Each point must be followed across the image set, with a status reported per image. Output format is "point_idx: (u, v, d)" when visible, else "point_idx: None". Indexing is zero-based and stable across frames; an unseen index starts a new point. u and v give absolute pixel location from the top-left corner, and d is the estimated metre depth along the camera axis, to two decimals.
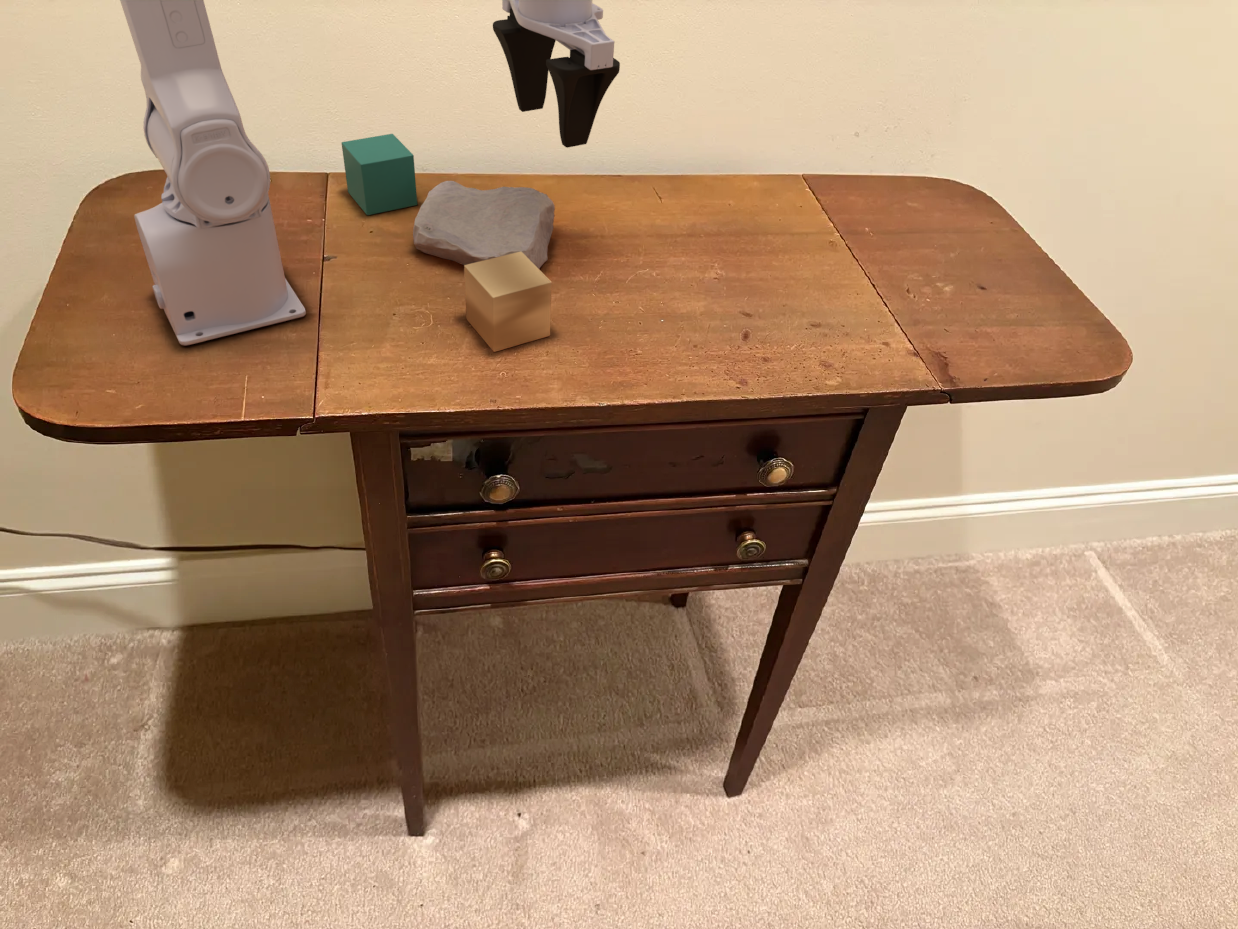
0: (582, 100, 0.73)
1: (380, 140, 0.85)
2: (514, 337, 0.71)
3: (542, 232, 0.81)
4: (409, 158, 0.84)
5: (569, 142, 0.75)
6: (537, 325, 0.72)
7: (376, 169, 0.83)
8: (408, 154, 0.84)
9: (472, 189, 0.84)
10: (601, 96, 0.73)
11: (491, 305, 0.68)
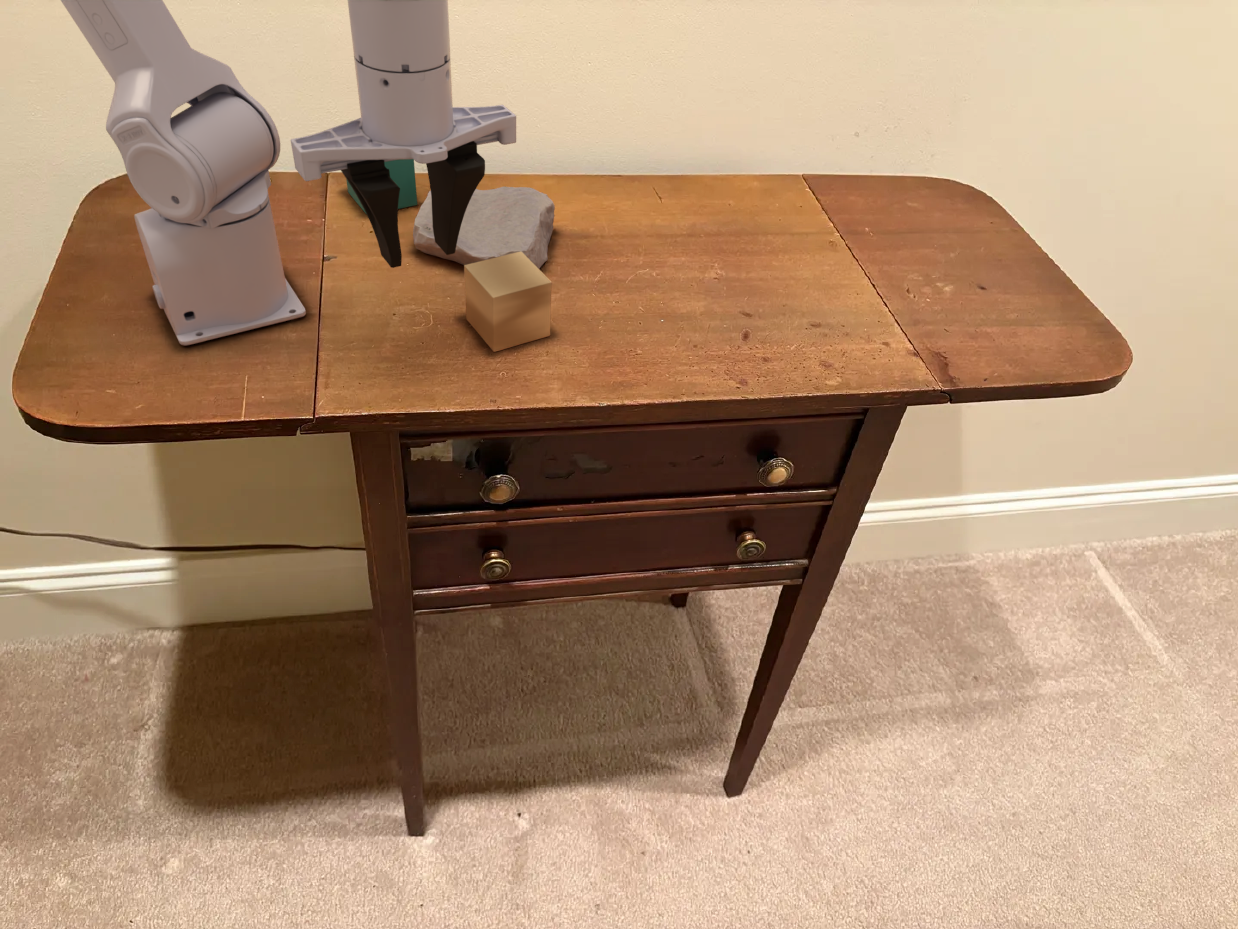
0: None
1: None
2: (514, 337, 0.71)
3: (542, 232, 0.81)
4: None
5: (381, 250, 0.64)
6: (537, 325, 0.72)
7: None
8: None
9: None
10: (375, 218, 0.60)
11: (491, 305, 0.68)
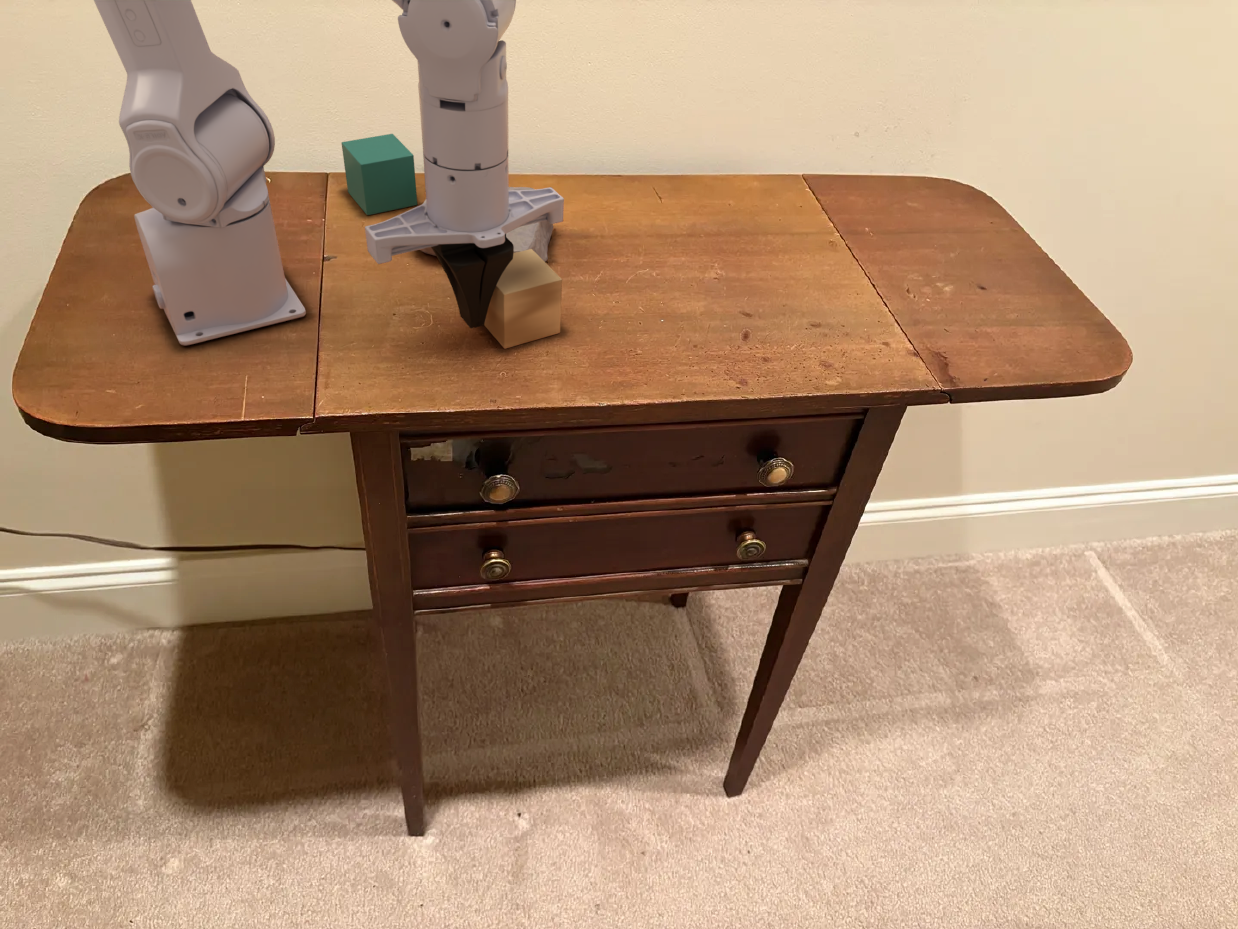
0: None
1: (380, 140, 0.85)
2: (524, 334, 0.72)
3: (542, 232, 0.81)
4: (409, 158, 0.84)
5: (460, 312, 0.71)
6: (548, 322, 0.72)
7: (376, 169, 0.83)
8: (408, 154, 0.84)
9: None
10: (460, 287, 0.67)
11: (502, 302, 0.69)
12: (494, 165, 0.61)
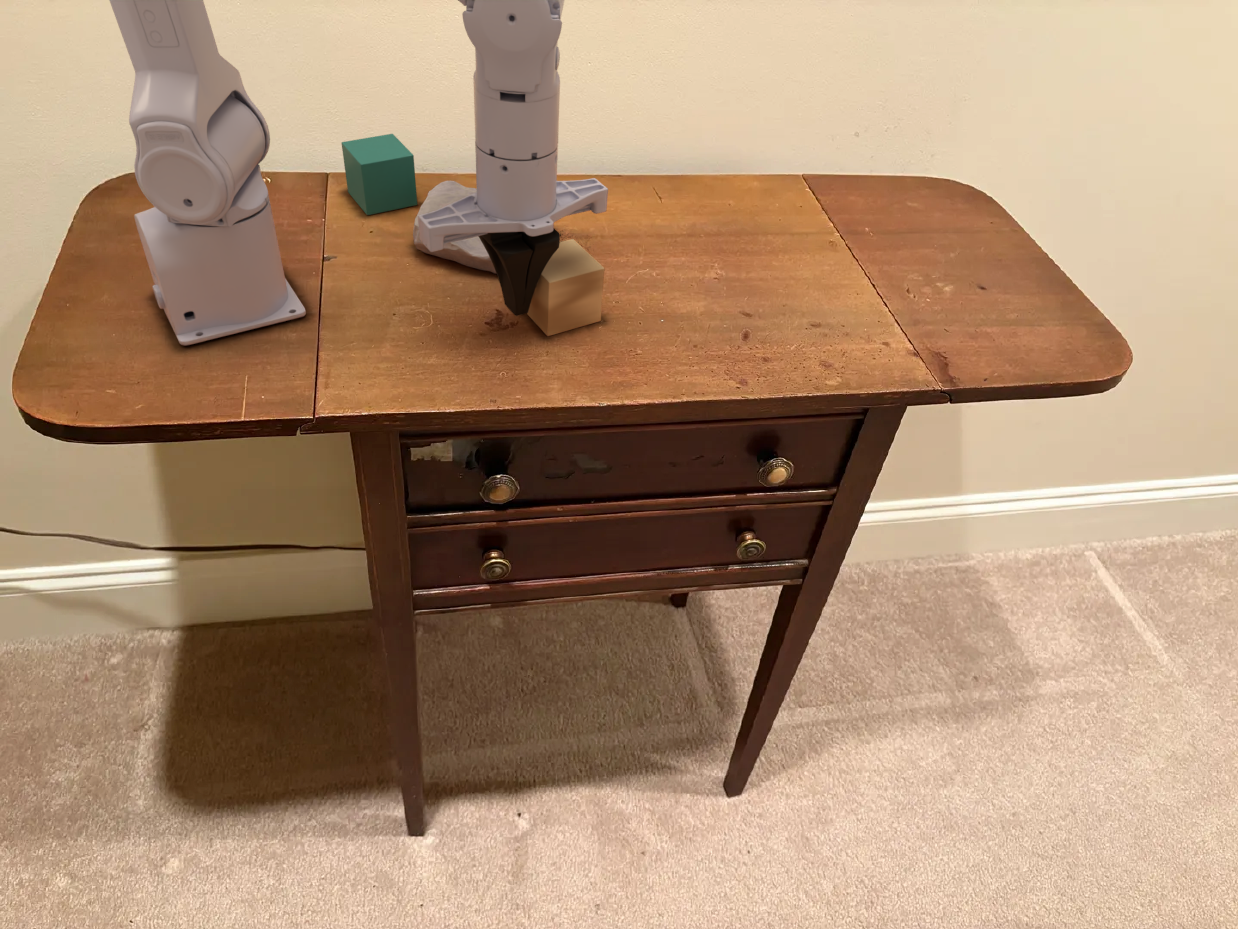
0: None
1: (380, 140, 0.85)
2: (567, 322, 0.73)
3: None
4: (409, 158, 0.84)
5: (505, 300, 0.73)
6: (589, 310, 0.74)
7: (376, 169, 0.83)
8: (408, 154, 0.84)
9: (472, 189, 0.84)
10: (507, 275, 0.69)
11: (547, 290, 0.71)
12: (545, 155, 0.62)
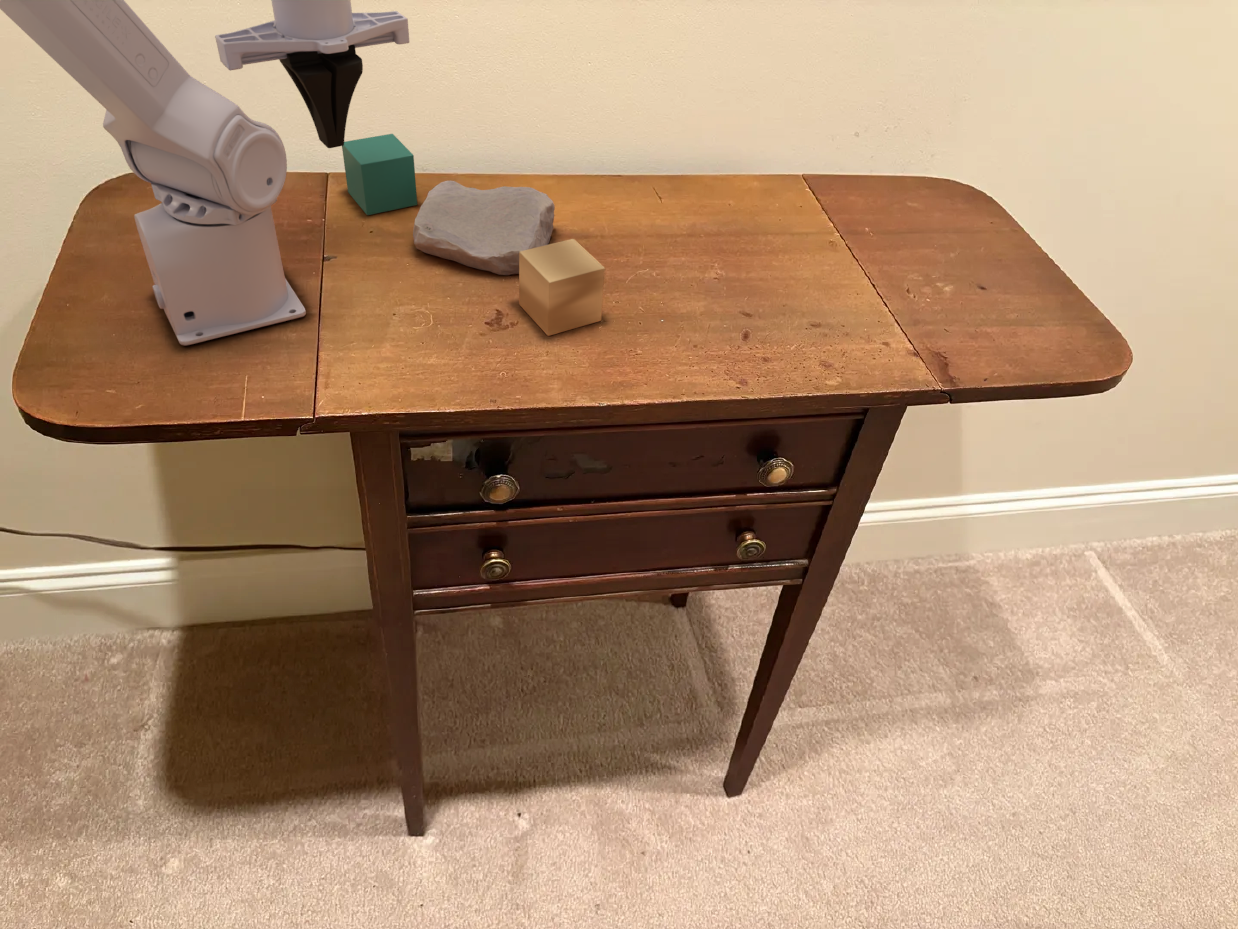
0: None
1: (380, 140, 0.85)
2: (567, 321, 0.73)
3: (542, 232, 0.81)
4: (409, 158, 0.84)
5: (318, 135, 0.76)
6: (590, 310, 0.74)
7: (376, 169, 0.83)
8: (408, 154, 0.84)
9: (472, 189, 0.84)
10: (312, 102, 0.72)
11: (547, 290, 0.71)
12: None
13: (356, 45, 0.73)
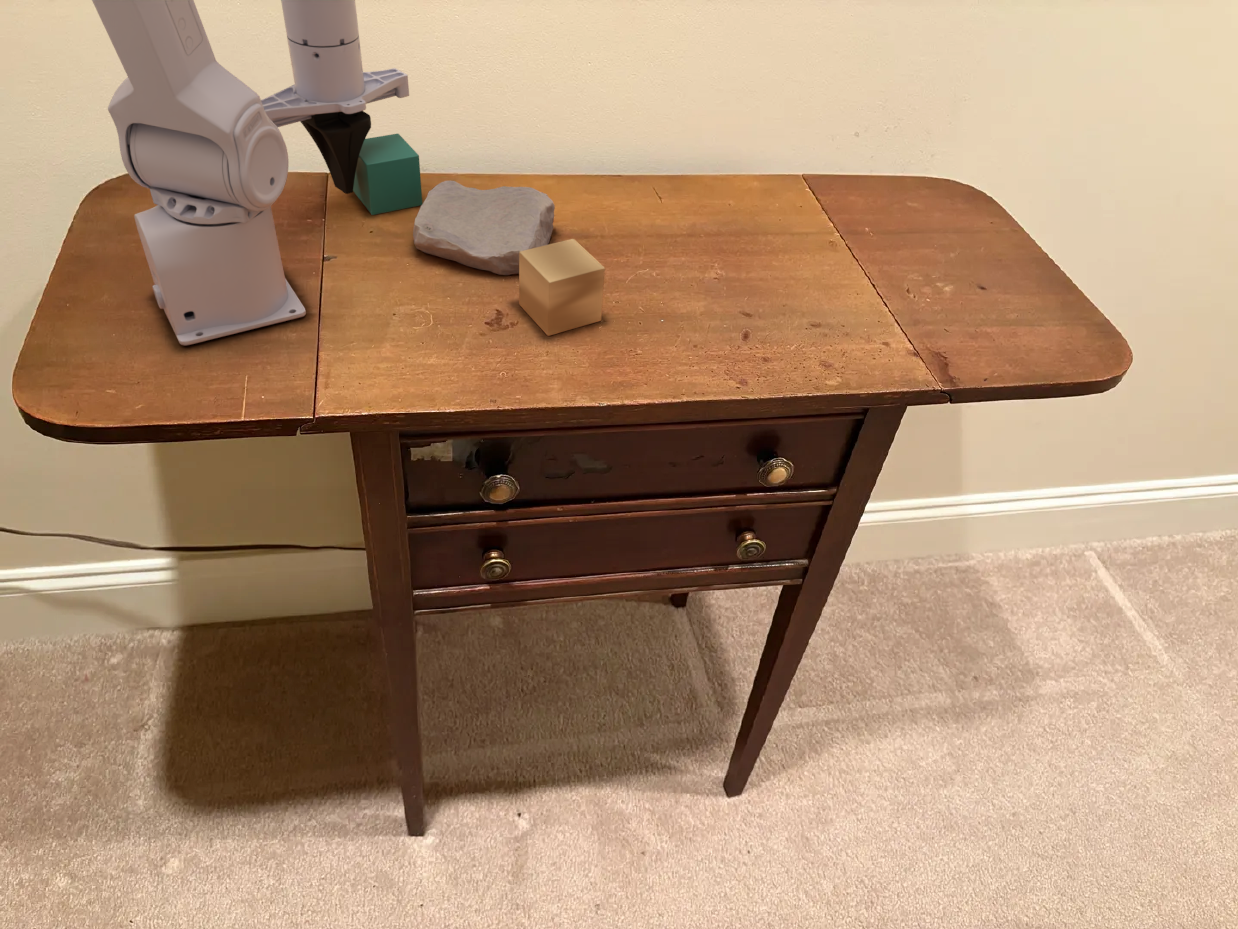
0: None
1: (386, 140, 0.85)
2: (567, 321, 0.73)
3: (542, 232, 0.81)
4: (414, 158, 0.84)
5: (334, 182, 0.85)
6: (590, 310, 0.74)
7: (381, 169, 0.83)
8: (413, 154, 0.84)
9: (472, 189, 0.84)
10: (334, 155, 0.81)
11: (547, 290, 0.71)
12: (349, 41, 0.75)
13: None
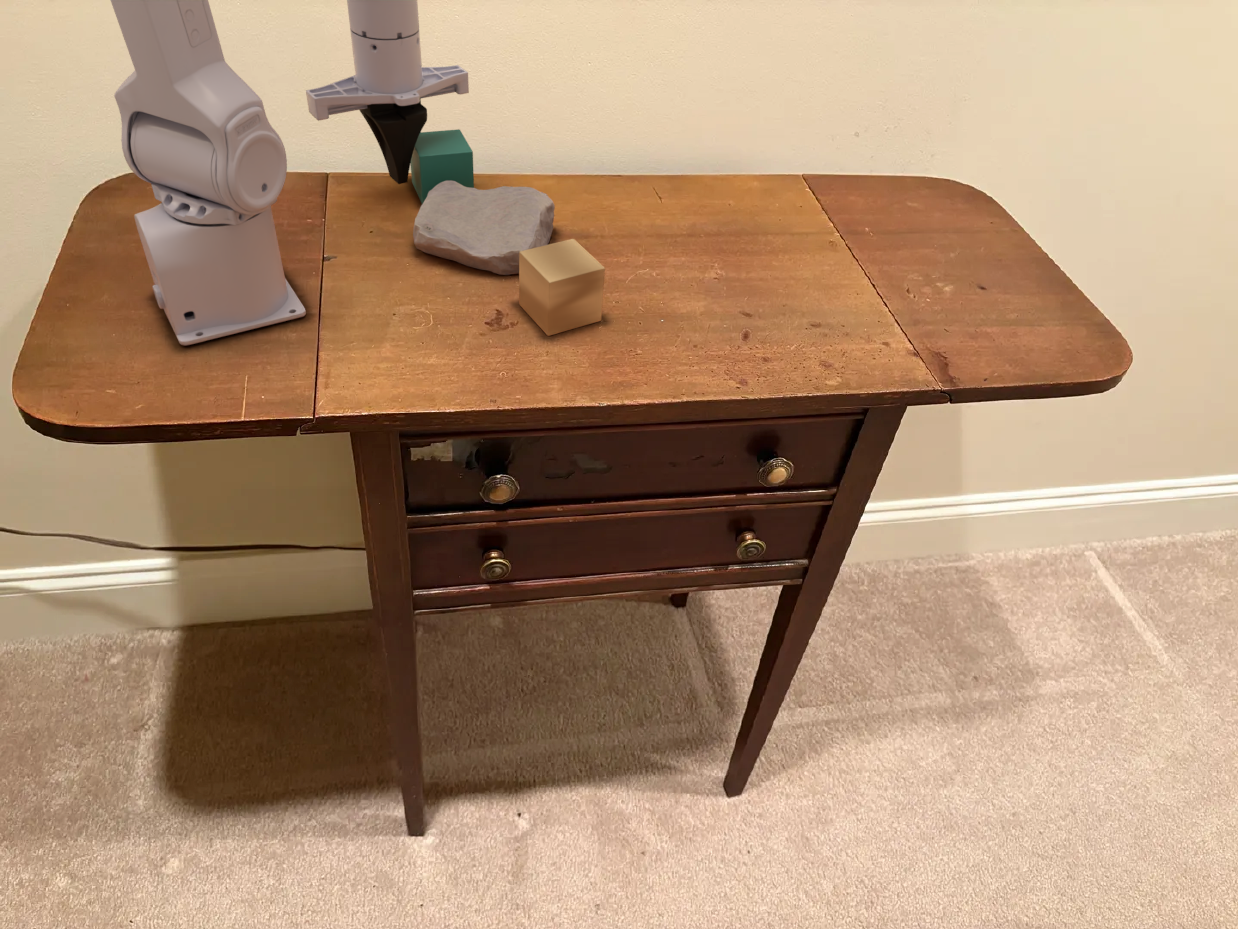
0: None
1: (445, 135, 0.87)
2: (567, 321, 0.73)
3: (542, 231, 0.81)
4: (468, 154, 0.85)
5: (389, 172, 0.87)
6: (590, 310, 0.74)
7: (434, 162, 0.85)
8: (468, 150, 0.85)
9: (472, 189, 0.84)
10: (387, 145, 0.83)
11: (547, 290, 0.71)
12: (407, 36, 0.77)
13: (423, 96, 0.83)
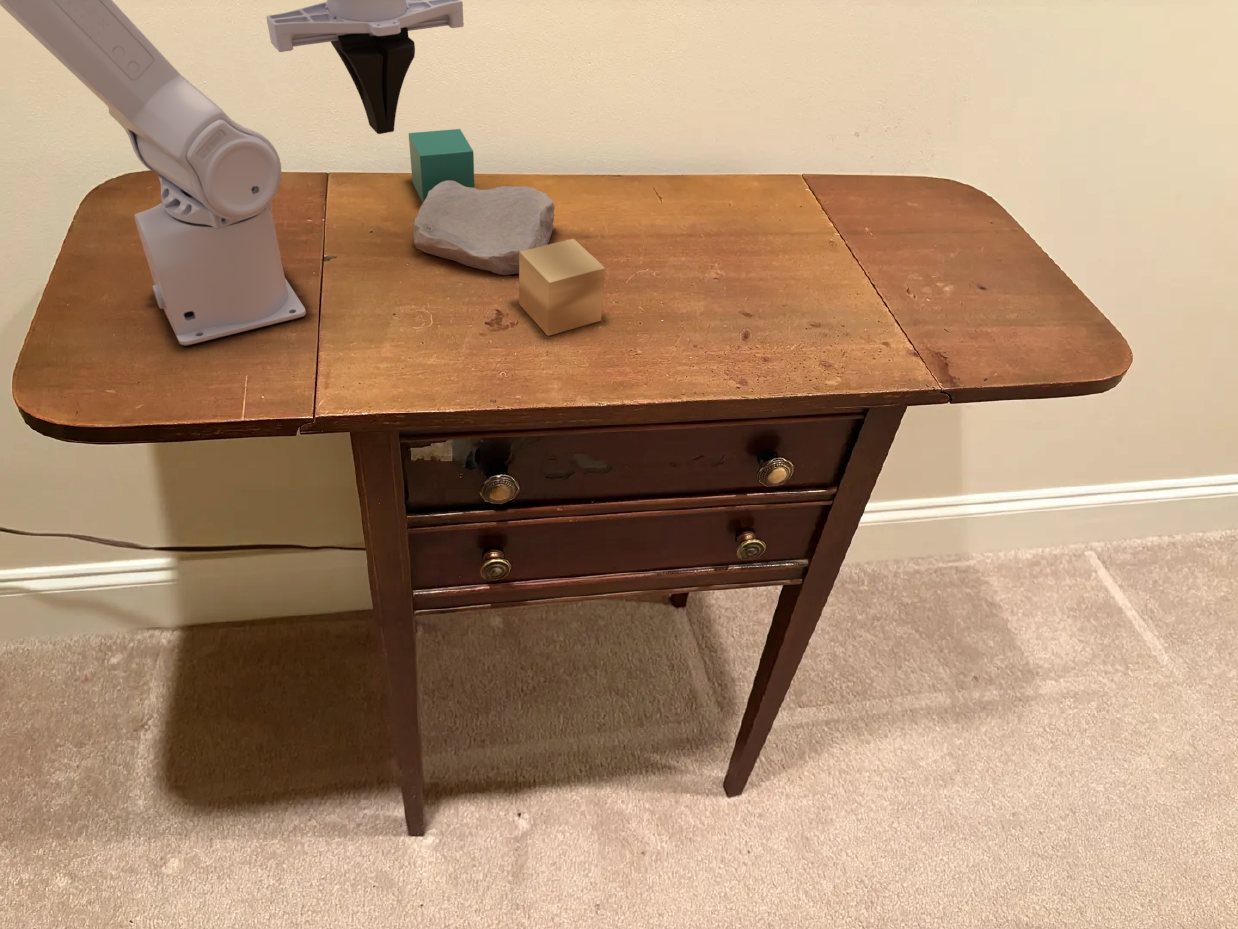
0: None
1: (445, 134, 0.87)
2: (567, 321, 0.73)
3: (542, 231, 0.81)
4: (468, 154, 0.85)
5: (369, 120, 0.75)
6: (590, 310, 0.74)
7: (435, 161, 0.85)
8: (468, 150, 0.85)
9: (472, 189, 0.84)
10: (362, 86, 0.70)
11: (547, 290, 0.71)
12: None
13: (409, 28, 0.71)
